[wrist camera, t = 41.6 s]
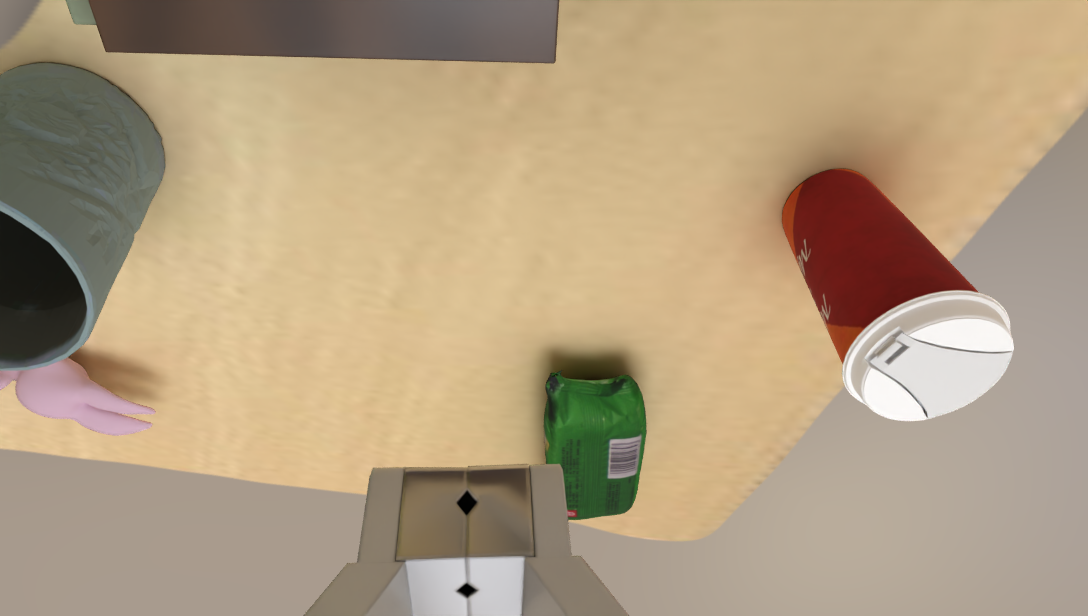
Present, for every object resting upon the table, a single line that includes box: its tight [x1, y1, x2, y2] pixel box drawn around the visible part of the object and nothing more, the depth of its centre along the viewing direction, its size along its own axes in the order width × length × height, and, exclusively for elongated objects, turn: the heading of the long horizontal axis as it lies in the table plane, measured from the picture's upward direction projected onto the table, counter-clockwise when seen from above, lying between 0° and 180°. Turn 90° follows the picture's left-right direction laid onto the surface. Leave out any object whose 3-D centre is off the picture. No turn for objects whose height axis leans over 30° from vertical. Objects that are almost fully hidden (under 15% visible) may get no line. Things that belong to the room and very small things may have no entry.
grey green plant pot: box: [0, 63, 165, 371], centre depth 34 cm, size 10×10×12 cm
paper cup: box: [782, 169, 1014, 421], centre depth 39 cm, size 8×8×14 cm
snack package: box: [544, 370, 646, 520], centre depth 53 cm, size 7×16×5 cm, turn 0°
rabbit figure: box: [0, 357, 156, 435], centre depth 45 cm, size 6×6×15 cm
